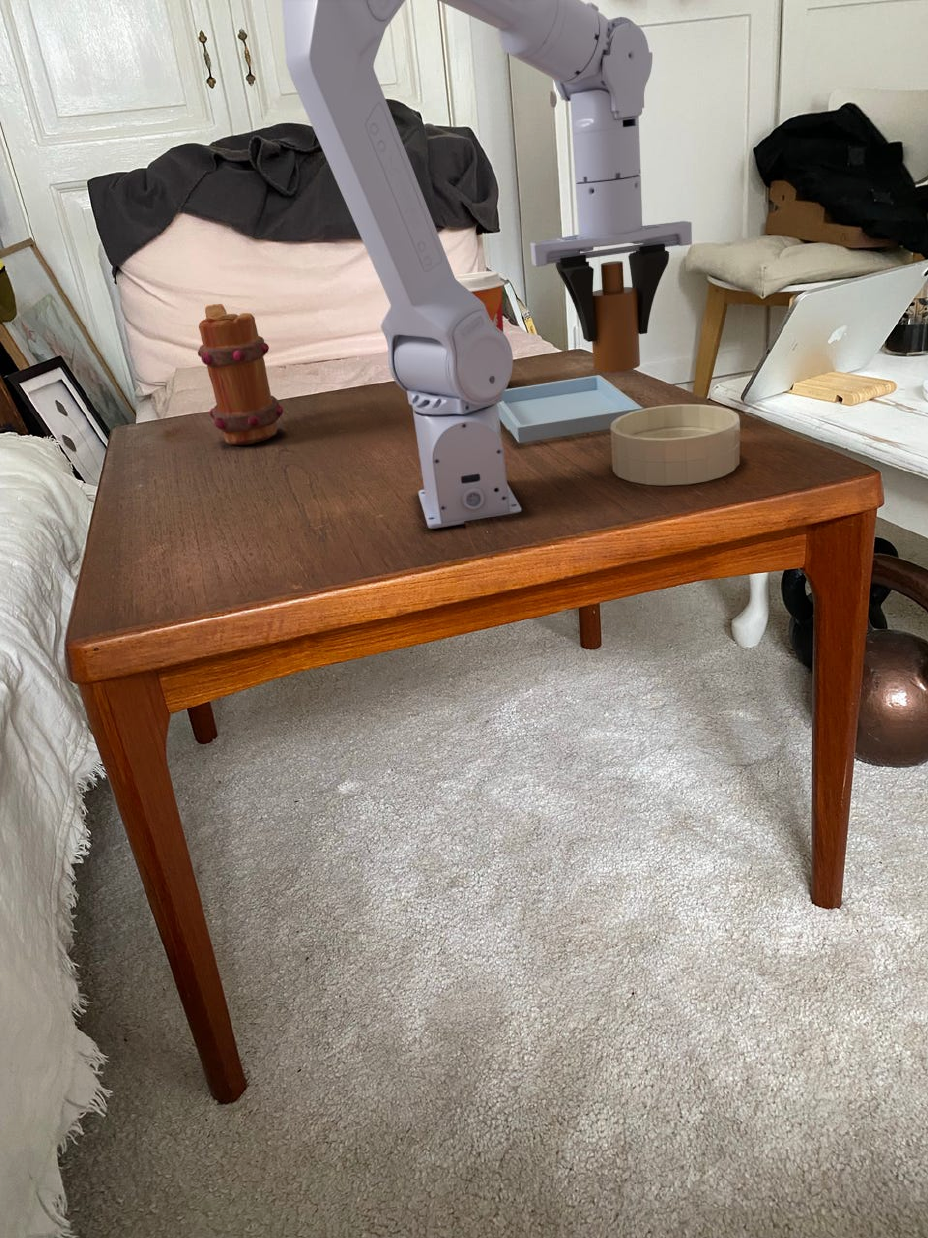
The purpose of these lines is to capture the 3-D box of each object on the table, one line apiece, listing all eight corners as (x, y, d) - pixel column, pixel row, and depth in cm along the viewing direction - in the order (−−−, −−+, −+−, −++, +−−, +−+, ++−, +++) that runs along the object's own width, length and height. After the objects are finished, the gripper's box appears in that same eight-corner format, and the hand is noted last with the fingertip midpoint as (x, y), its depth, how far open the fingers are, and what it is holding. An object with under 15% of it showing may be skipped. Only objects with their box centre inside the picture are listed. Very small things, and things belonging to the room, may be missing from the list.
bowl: (759, 478, 81) (760, 426, 79) (633, 498, 80) (631, 447, 78) (711, 444, 91) (711, 397, 89) (599, 462, 90) (596, 415, 88)
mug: (294, 440, 111) (266, 307, 104) (224, 455, 108) (192, 320, 102) (270, 416, 123) (244, 296, 116) (207, 429, 121) (177, 307, 114)
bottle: (645, 367, 90) (641, 261, 85) (600, 374, 89) (594, 268, 85) (632, 359, 93) (628, 257, 89) (588, 365, 93) (582, 263, 89)
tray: (644, 427, 98) (643, 407, 97) (519, 447, 97) (517, 427, 97) (600, 392, 114) (599, 374, 113) (492, 408, 113) (490, 391, 112)
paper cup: (447, 399, 120) (432, 283, 114) (462, 384, 126) (448, 273, 120) (508, 395, 118) (496, 277, 112) (519, 380, 124) (509, 267, 118)
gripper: (673, 167, 88) (676, 318, 94) (519, 189, 87) (532, 339, 93) (699, 168, 82) (700, 329, 88) (534, 191, 81) (547, 352, 87)
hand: (615, 335), depth 90 cm, fingers closed on bottle, 4 cm apart
